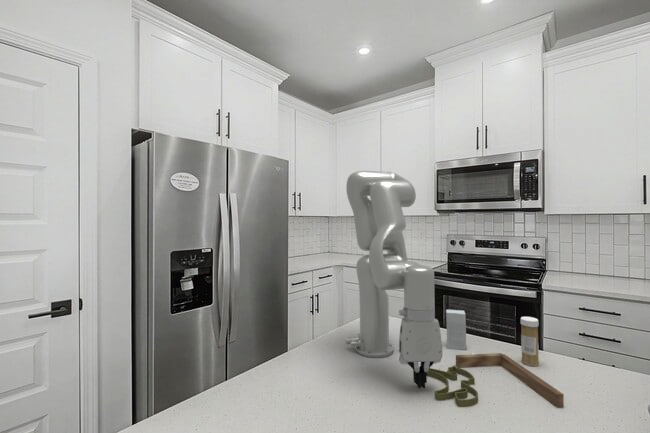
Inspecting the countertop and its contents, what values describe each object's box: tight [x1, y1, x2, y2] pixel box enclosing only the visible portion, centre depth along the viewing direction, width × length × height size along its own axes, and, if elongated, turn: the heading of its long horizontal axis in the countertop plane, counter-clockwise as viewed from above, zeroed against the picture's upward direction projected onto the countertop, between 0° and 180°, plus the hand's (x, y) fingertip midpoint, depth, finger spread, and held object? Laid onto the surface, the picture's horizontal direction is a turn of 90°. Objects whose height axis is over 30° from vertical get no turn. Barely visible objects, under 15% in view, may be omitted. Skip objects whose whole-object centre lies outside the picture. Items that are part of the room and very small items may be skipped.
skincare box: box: [445, 309, 467, 351], centre depth 111 cm, size 6×4×12 cm
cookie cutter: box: [427, 365, 479, 408], centre depth 85 cm, size 18×12×2 cm, turn 174°
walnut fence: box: [455, 352, 565, 408], centre depth 86 cm, size 15×23×3 cm, turn 4°
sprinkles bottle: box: [520, 316, 540, 367], centre depth 98 cm, size 5×5×14 cm
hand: (420, 385), depth 84 cm, fingers closed
